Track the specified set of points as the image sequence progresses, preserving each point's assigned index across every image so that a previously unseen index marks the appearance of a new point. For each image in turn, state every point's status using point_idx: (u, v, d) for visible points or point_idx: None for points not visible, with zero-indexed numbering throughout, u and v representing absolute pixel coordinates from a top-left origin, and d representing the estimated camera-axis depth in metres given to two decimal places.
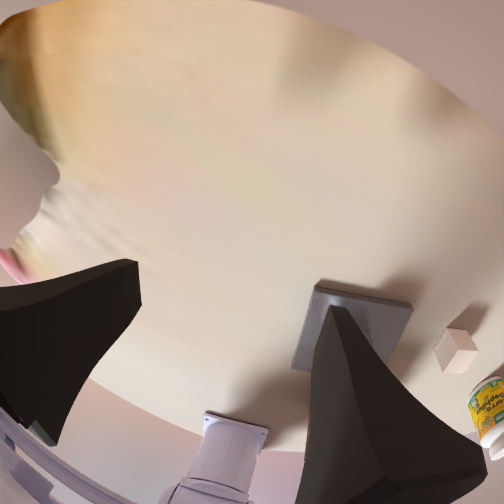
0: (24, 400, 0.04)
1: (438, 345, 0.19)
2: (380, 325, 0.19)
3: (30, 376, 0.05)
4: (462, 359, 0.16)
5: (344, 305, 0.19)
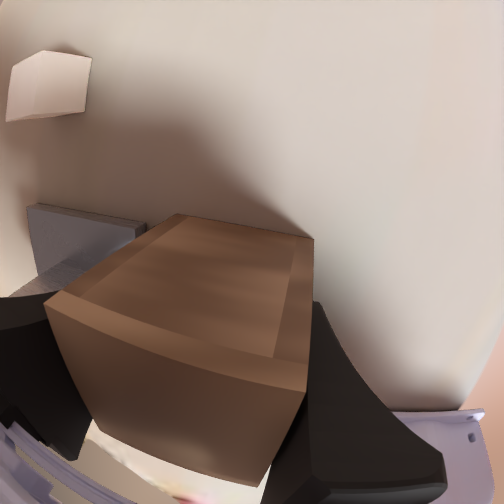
0: (45, 417, 0.04)
1: (68, 113, 0.09)
2: (49, 249, 0.12)
3: (52, 392, 0.05)
4: (17, 90, 0.06)
5: None
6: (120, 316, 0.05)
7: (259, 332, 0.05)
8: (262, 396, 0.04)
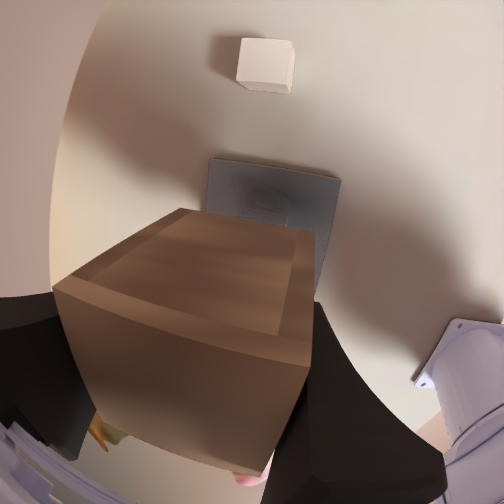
0: (45, 417, 0.04)
1: (275, 91, 0.14)
2: (234, 197, 0.17)
3: (51, 392, 0.05)
4: (257, 60, 0.12)
5: None
6: (129, 298, 0.05)
7: (263, 313, 0.05)
8: (268, 372, 0.04)
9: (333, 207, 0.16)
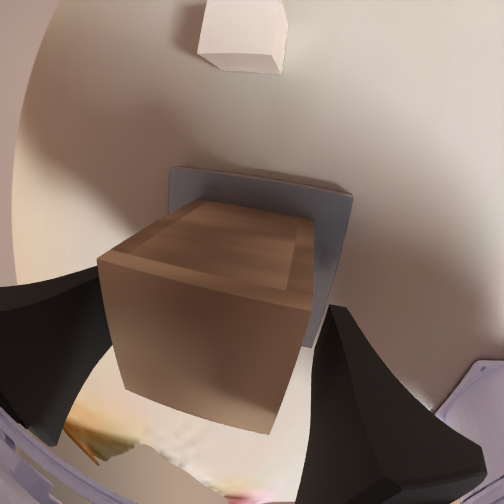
0: (24, 400, 0.04)
1: (260, 71, 0.10)
2: None
3: (30, 376, 0.05)
4: (229, 23, 0.07)
5: None
6: (166, 265, 0.06)
7: (274, 275, 0.07)
8: (279, 317, 0.06)
9: (341, 235, 0.11)
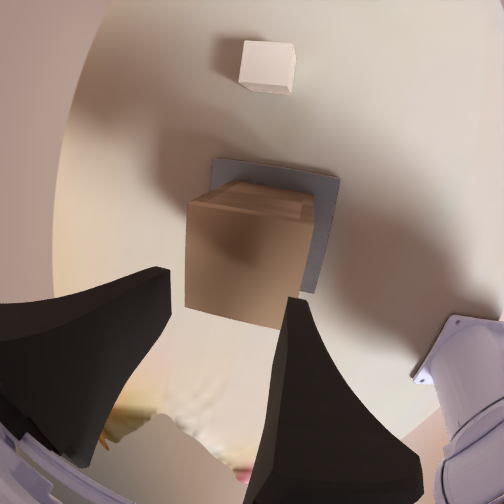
0: (58, 427, 0.04)
1: (277, 92, 0.15)
2: None
3: (64, 401, 0.05)
4: (259, 62, 0.12)
5: None
6: (231, 207, 0.12)
7: (292, 214, 0.12)
8: (297, 230, 0.11)
9: (333, 205, 0.17)
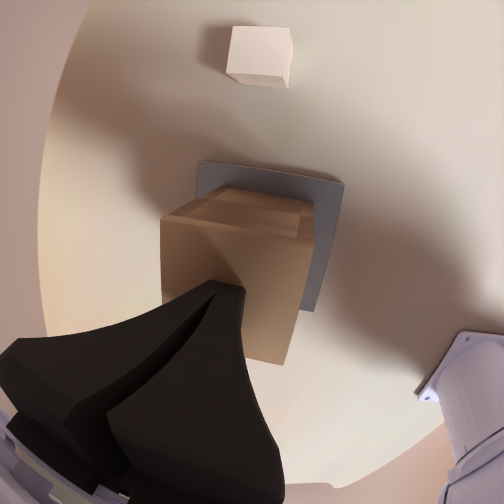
0: None
1: (271, 85, 0.13)
2: None
3: None
4: (250, 50, 0.10)
5: None
6: (213, 223, 0.09)
7: (287, 230, 0.10)
8: (292, 253, 0.09)
9: (335, 214, 0.14)
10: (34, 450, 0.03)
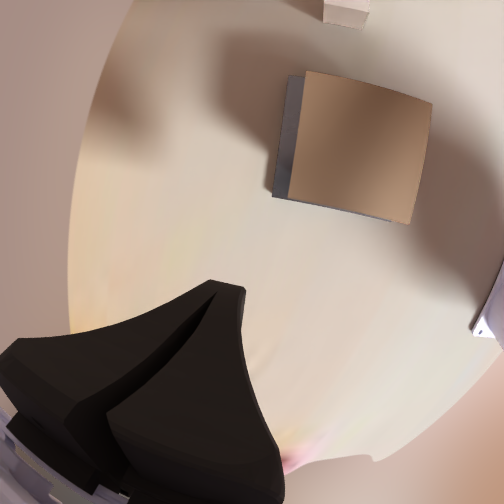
0: None
1: (349, 25, 0.12)
2: None
3: None
4: None
5: (287, 160, 0.17)
6: None
7: None
8: (418, 106, 0.08)
9: None
10: (34, 450, 0.03)
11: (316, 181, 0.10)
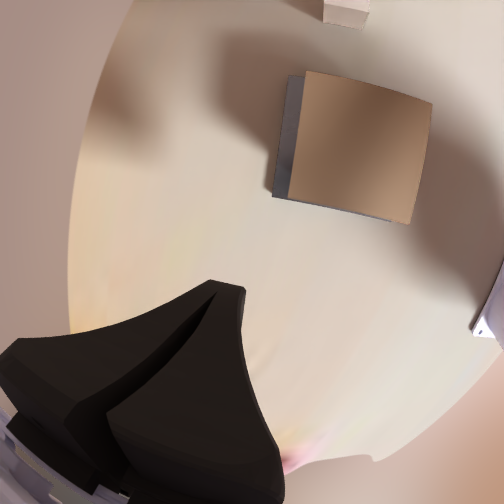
0: None
1: (349, 25, 0.12)
2: None
3: None
4: None
5: (287, 160, 0.17)
6: None
7: None
8: (418, 106, 0.08)
9: None
10: (34, 450, 0.03)
11: (316, 181, 0.10)
